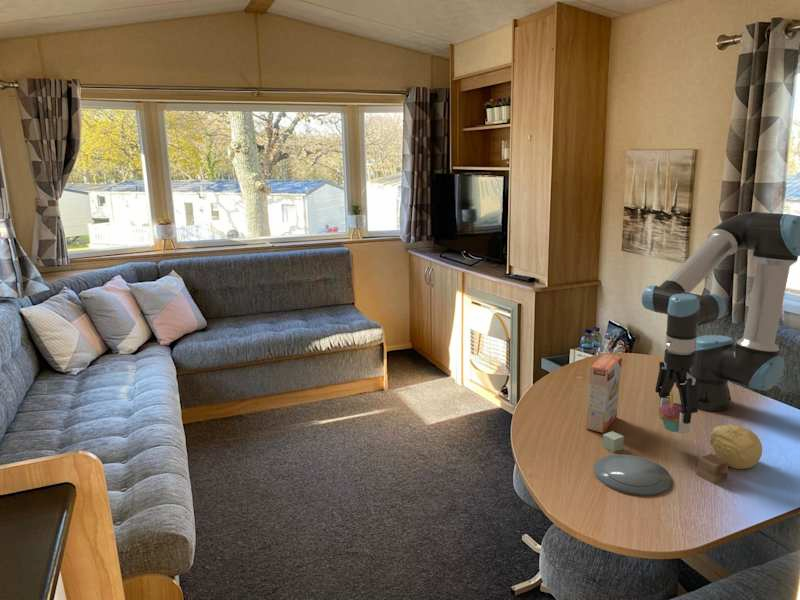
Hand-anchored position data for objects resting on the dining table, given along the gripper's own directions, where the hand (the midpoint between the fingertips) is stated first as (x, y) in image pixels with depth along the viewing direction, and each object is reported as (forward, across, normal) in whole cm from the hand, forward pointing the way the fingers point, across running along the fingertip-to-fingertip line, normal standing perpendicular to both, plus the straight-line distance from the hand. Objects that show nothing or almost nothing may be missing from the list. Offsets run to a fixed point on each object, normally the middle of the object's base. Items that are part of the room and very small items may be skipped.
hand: (673, 425), depth 170 cm
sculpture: (+8, +10, +12) cm, 18 cm away
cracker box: (+8, -20, -11) cm, 24 cm away
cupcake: (+1, 0, 0) cm, 1 cm away
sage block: (+7, -5, -16) cm, 18 cm away
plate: (+7, +10, -19) cm, 23 cm away
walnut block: (+8, +15, +1) cm, 17 cm away
